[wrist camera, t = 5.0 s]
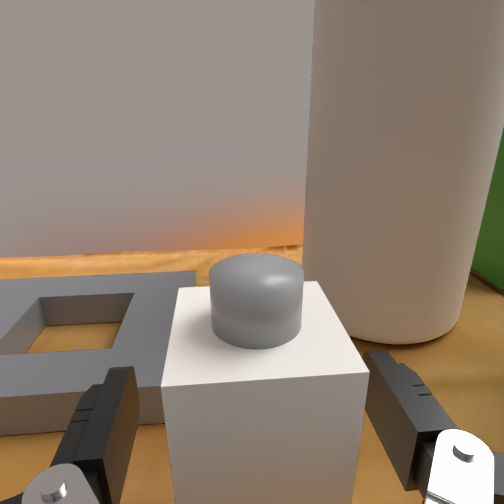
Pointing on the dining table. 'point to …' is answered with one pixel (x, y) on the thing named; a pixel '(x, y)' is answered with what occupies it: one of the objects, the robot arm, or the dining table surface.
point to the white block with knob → (261, 389)
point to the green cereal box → (492, 227)
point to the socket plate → (82, 361)
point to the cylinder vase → (400, 158)
